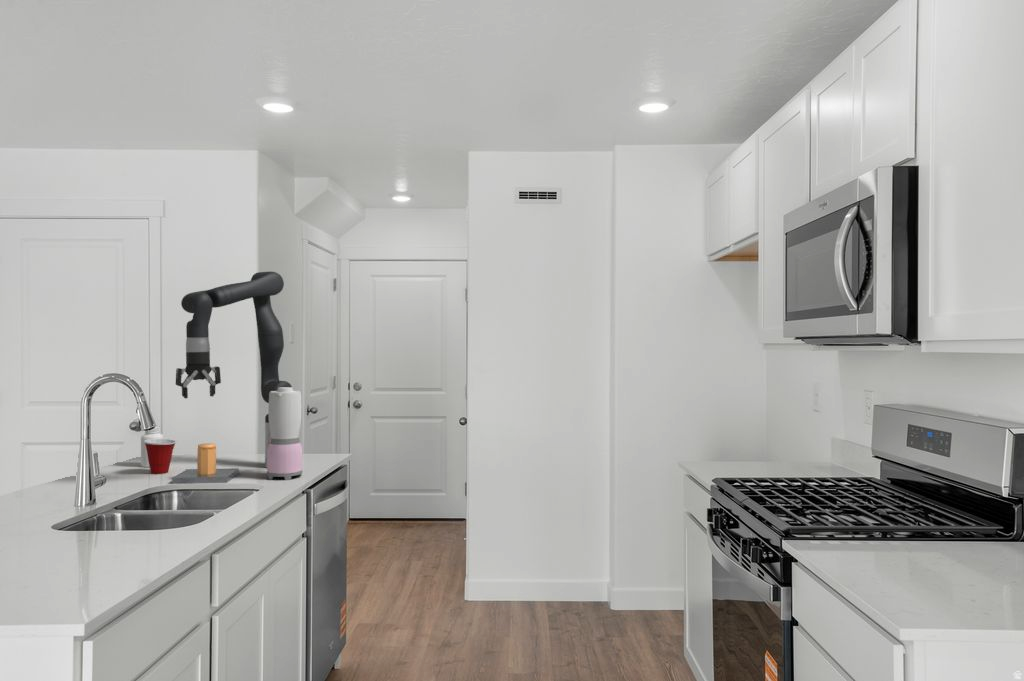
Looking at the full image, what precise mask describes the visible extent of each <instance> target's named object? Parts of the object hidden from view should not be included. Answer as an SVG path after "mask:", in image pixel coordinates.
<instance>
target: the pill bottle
mask: <svg viewBox="0 0 1024 681" xmlns="http://www.w3.org/2000/svg"><path fill="white" fill-rule="evenodd" d="M160 432H161V428H160V426H157V425H155V428H154V429H152V430H150V431H145V430H144V434H143V435H141V437H140V464H141V465H140V466H141V467H142V468H150V465H149V461H148V455H147V450H146V445H145V443H144V441H145V440H149V439H165V436H164V434H162V433H160Z"/></svg>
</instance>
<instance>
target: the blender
mask: <svg viewBox="0 0 1024 681" xmlns="http://www.w3.org/2000/svg"><path fill="white" fill-rule="evenodd" d="M302 404H303V403H302V392H301V391H300V390H294V387H293V386H292V387H281V388H278V391H271V392H270V393H269V403H268V414H269V427H270V432H271V442H270V444H269V446H268V449H267V467H266V475H267V478H268V480H271V481H272V480H274V477H275V478H276V477H277V478H279V477H280V478H282V477H283V478H284V480H285V481H290V480H291V479H292V477H294V476H302V474H303V446H302V443H301V442H300V437H299V436H300V431H301V424H302V410H303V408H302Z"/></svg>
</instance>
